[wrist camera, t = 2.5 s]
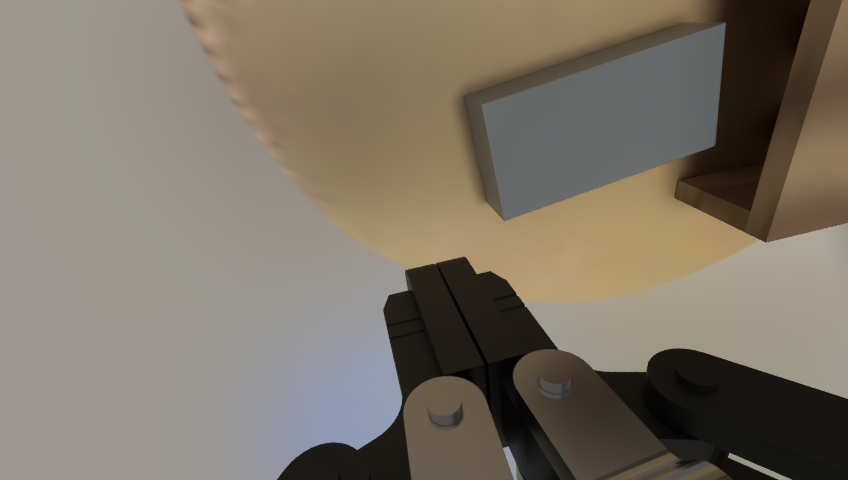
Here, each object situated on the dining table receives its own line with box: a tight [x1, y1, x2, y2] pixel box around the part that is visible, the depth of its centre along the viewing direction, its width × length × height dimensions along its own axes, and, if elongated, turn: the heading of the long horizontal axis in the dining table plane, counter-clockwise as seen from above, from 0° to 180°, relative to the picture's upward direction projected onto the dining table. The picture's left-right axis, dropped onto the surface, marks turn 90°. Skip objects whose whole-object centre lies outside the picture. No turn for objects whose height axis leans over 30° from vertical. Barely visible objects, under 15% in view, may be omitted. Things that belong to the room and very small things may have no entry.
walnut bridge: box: [675, 0, 848, 242], centre depth 21 cm, size 12×8×6 cm, turn 7°
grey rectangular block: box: [464, 23, 726, 221], centre depth 22 cm, size 6×12×3 cm, turn 105°
